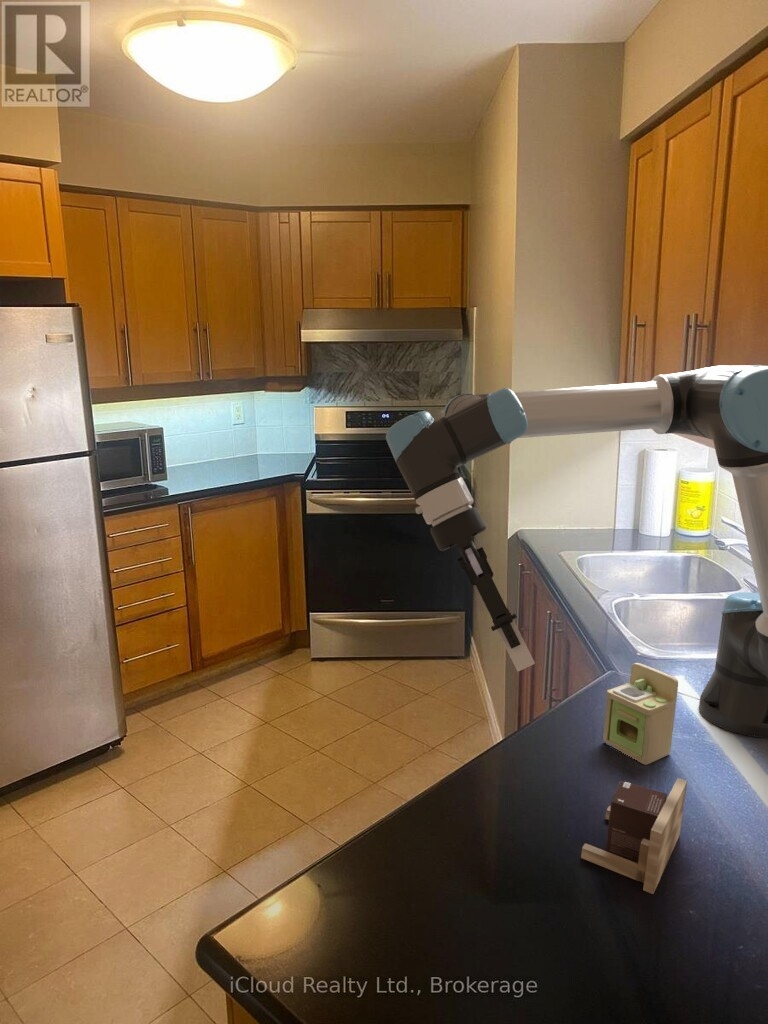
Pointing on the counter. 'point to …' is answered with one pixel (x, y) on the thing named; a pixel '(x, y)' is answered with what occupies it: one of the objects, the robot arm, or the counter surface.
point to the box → (632, 818)
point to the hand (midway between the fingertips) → (526, 666)
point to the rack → (648, 844)
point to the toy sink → (642, 714)
